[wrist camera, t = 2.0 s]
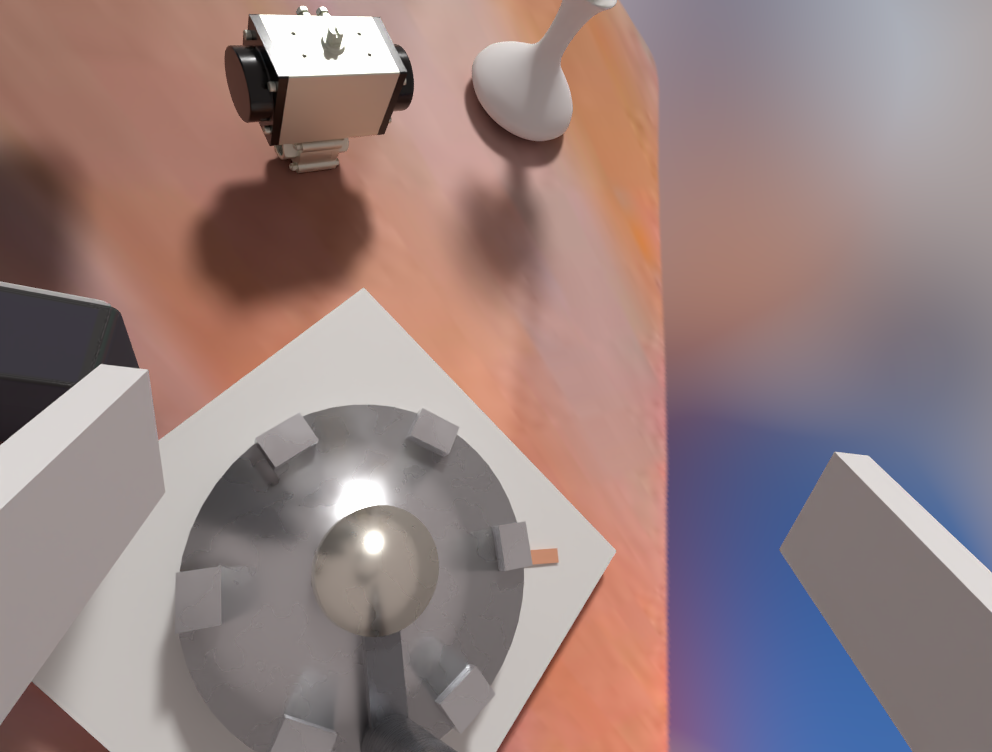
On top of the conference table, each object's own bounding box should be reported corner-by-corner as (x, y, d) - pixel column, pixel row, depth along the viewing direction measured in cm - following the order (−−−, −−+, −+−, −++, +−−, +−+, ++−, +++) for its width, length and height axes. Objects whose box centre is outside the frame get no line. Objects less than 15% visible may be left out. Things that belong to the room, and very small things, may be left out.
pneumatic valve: (384, 170, 48) (431, 59, 38) (245, 190, 42) (255, 63, 31) (358, 116, 48) (397, -8, 38) (217, 128, 42) (218, -17, 32)
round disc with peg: (86, 589, 28) (-36, 595, 14) (363, 356, 39) (447, 230, 25) (364, 846, 30) (495, 1074, 16) (557, 556, 41) (738, 542, 27)
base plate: (-41, 600, 28) (-60, 601, 26) (357, 299, 43) (364, 286, 41) (352, 954, 30) (362, 979, 28) (601, 552, 45) (618, 550, 43)
